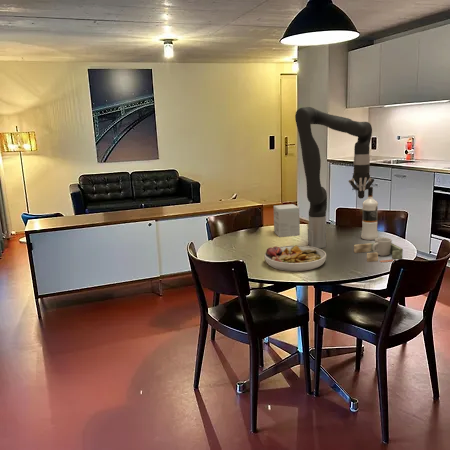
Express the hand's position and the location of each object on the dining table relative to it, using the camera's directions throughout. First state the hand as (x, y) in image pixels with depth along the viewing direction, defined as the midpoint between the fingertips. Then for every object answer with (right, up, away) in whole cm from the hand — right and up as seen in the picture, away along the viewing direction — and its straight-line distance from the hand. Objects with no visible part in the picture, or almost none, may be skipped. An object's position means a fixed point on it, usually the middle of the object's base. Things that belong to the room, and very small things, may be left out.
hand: (361, 198), depth 218 cm
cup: (+11, -29, +3) cm, 31 cm away
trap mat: (+10, -31, -7) cm, 33 cm away
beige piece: (+8, -29, +2) cm, 30 cm away
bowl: (-33, -33, -2) cm, 47 cm away
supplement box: (-30, -19, +54) cm, 65 cm away
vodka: (+15, -21, +34) cm, 43 cm away
